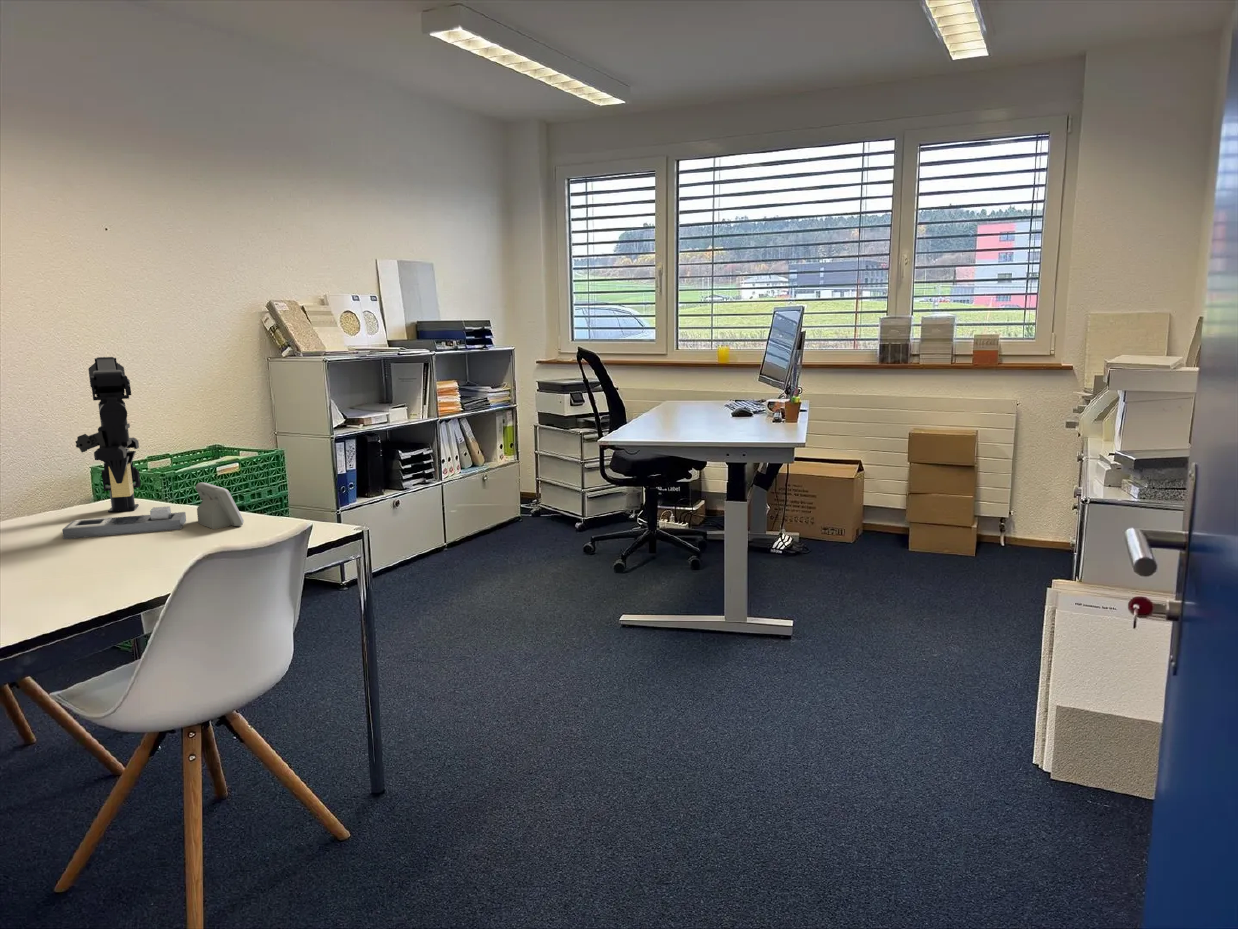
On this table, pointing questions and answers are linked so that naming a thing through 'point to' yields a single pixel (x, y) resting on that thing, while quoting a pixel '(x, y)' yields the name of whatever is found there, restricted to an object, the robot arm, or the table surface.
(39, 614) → the table surface
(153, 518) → the steel peg
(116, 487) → the brass peg
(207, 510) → the digital clock
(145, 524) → the rail
